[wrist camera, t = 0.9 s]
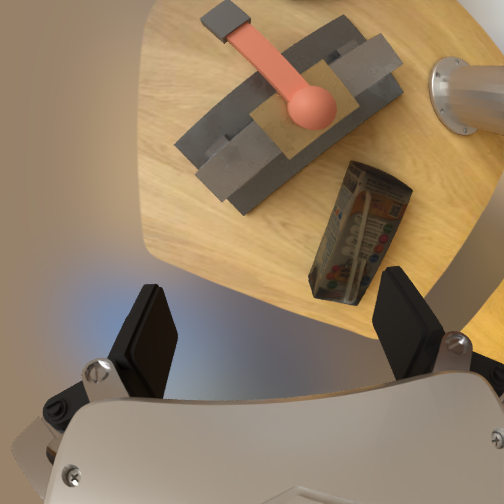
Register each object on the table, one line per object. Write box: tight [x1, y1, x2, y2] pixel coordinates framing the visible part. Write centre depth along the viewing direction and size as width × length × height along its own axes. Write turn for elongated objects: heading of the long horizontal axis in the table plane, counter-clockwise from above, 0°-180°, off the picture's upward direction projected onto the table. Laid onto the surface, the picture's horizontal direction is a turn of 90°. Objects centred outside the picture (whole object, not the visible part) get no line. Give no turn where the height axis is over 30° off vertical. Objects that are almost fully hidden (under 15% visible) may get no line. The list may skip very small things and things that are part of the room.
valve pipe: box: [174, 15, 404, 216], centre depth 27 cm, size 28×13×8 cm, turn 131°
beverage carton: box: [308, 161, 413, 306], centre depth 36 cm, size 8×19×7 cm, turn 166°
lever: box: [200, 0, 337, 130], centre depth 20 cm, size 15×4×3 cm, turn 41°
